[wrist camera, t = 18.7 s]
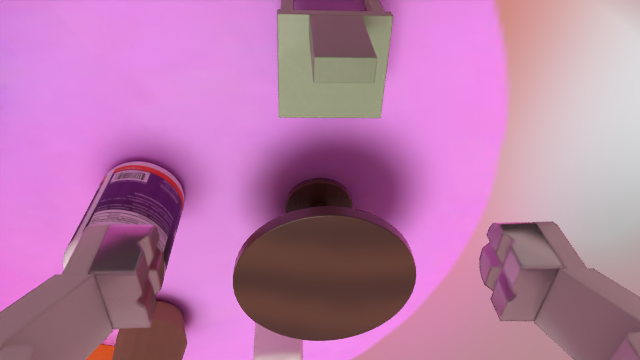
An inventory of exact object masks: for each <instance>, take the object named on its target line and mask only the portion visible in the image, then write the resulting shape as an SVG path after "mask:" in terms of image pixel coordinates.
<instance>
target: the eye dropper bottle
mask: <svg viewBox="0 0 640 360" xmlns="http://www.w3.org/2000/svg"><path fill="white" fill-rule="evenodd" d="M253 358H254V360H303V340H300V339H295V338H290V337H286V336H283V335H280V334H277V333H274V332H272V331H270V330H268V329H266V328H264V327H262V326H261V325H259V324H258V323H256V322H255V336H254V354H253Z"/></svg>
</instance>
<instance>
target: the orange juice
mask: <svg viewBox="0 0 640 360" xmlns="http://www.w3.org/2000/svg"><path fill="white" fill-rule="evenodd" d="M114 348H115V346H109V345H102V344H100V345H99V346H98V347H97V348H96V349H95V350H94V351H93V352H92V353H91V354H90V355H89V357H88V358H87V359H86V360H112V358H113V353H114Z"/></svg>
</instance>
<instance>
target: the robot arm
mask: <svg viewBox="0 0 640 360" xmlns="http://www.w3.org/2000/svg"><path fill="white" fill-rule="evenodd" d="M487 237H488V239H489V241H490V242H489V243H488V244H487V245H486V246H484V247H483V248H482V252H481V255H480V273H481V277H482V280H483V282H484V285H485V286H487V287H488V288H490V289H491V290H492V291H493V294H492V297H491V301H492V303H493V305H494V308H495V310H496V312H497V315H498V317H499V319H500V321H535V322H534V323H535V324H536V325H537V326H538V327H539V328H540V329H541V330H542V331H544V332H545V333H546V334H547V335H548V336H549V337H550V338H551V339H552V340H553V341H555V343H557V344H558V345H559V346H560V347H561V348H562V349H563V350H564V351H565V352H566V353H567V354H569V355H570V356H571V357H572V358H573V359H574V360H640V297H639V296H637V295H636V294H634V293H632V292H631V291H629V290H627V289H626V288H624V287H622V286H621V285H619V284H618V283H616V282H615V281H613V280H611V279H610V278H608V277H606V276H605V275H603V274H601V273H600V272H598V271H597V270H595V269H587V267H586V266H585V265H584V263H583V262H582V260H581V259H580V257H579V256H578V254H577V253H576V251H575V250H574V249H573V247H572V245H571V244H570V243H569V241H568V240H567V238H566V237H565V235H564V234H563V232H562V231H561V230H560V228H559V227H558V225H557V224H555V223H554V222H532V223H529V222H528V223H492V225H491V226H490V227H489V230H488V233H487ZM159 238H160V236H159V232H158V228H157V226H155V225H144V224H112V225H111V224H90V225H89V226H87V227H86V228H85V230H84V232H83V234H82V236H81V238H80V239H79V241H78V243H77V245H76V247H75V249H74V251H73V253H72V255H71V257H70V259H69V261H68V263H67V265H66V267H65V269H64V271H63V273H62V275H54V276H52V277H51V278H49V279H48V280H47V281H45V282H44V283H42V284H41V285H39V286H38V287H36V288H35V289H33V290H32V291H30V292H29V293H28V294H26V295H25V296H23V297H22V298H20V299H19V300H17V301H16V302H14V303H13V304H11V305H10V306H9V307H7V308H6V309H4V310H3V311H1V312H0V360H86V359H87V358H88V357H89V355H90V354H91V353H92V352H93V351H94V350H95V349H96V348H97V347H98V346H99V345H100V344H101V343H102V342H103V341H104V340H105V339H106V338H107V337H108V336H109V335H110V334H111V333H112V332H113V330H112V329H127V328H149V327H151V323H152V320H153V316H154V313H155V309H156V306H157V302H156V298H155V294H156V293H157V292H158V291H160V290H161V288H162V284H163V280H164V270H165V265H164V255H163V251H162V250H161V249H160V248H159V247H158V246H157V245H158V241H159Z"/></svg>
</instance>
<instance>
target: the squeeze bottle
mask: <svg viewBox="0 0 640 360" xmlns="http://www.w3.org/2000/svg"><path fill="white" fill-rule="evenodd" d="M156 302H157V306H156V309H155V313H154V316H153V320H152V323H151V327H149V328H127V329H119V332H118V335H117V339H116V344H115V348H114V353H113V358H112V360H182V358H183V355H184V352H185V348H186V345H187V339H186V334H185V328H184V322H183V317H182V313H181V312H180V310H179V309H178V308H177V307H175V306H173V305H172V304H170V303H166V302H162V301H156Z"/></svg>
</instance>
